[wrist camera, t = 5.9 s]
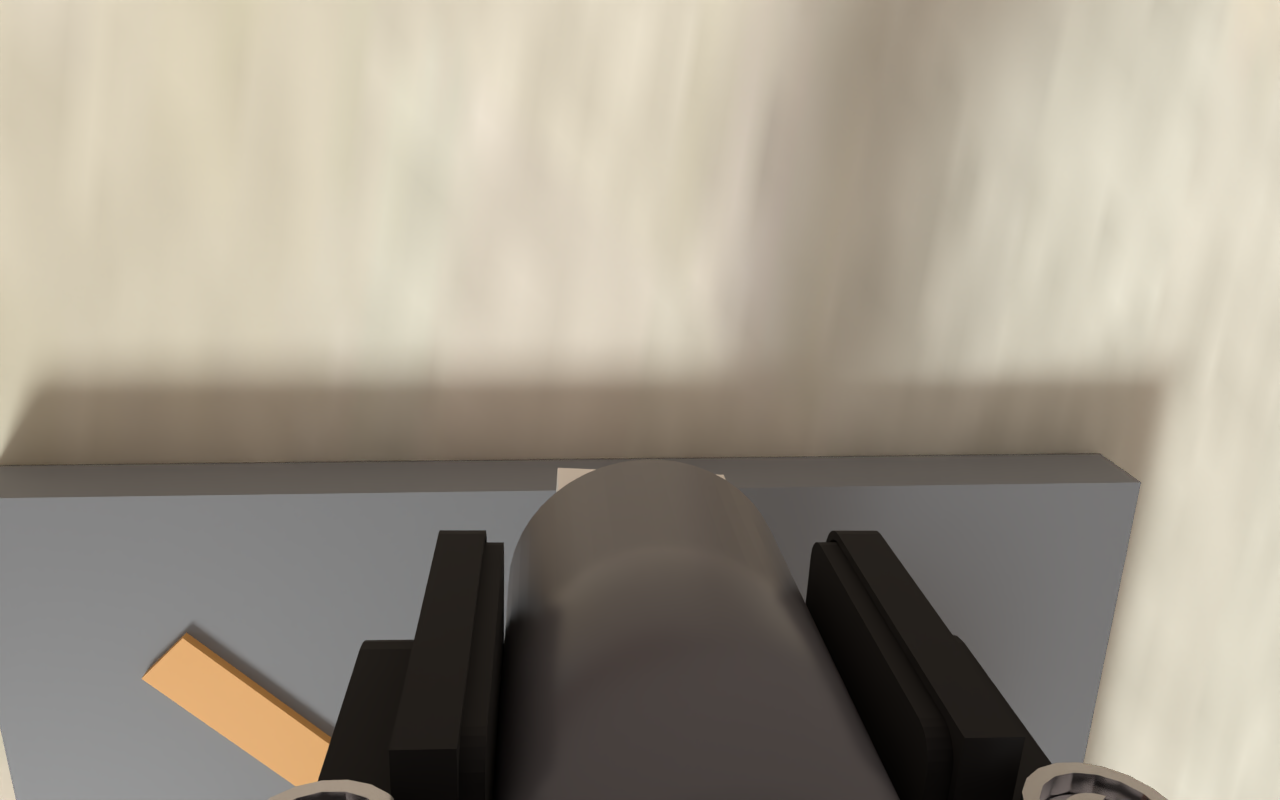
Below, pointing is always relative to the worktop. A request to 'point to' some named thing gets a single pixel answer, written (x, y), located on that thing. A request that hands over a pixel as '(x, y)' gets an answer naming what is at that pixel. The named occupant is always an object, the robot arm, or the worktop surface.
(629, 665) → the lever handle
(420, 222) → the worktop surface
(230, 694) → the post base
